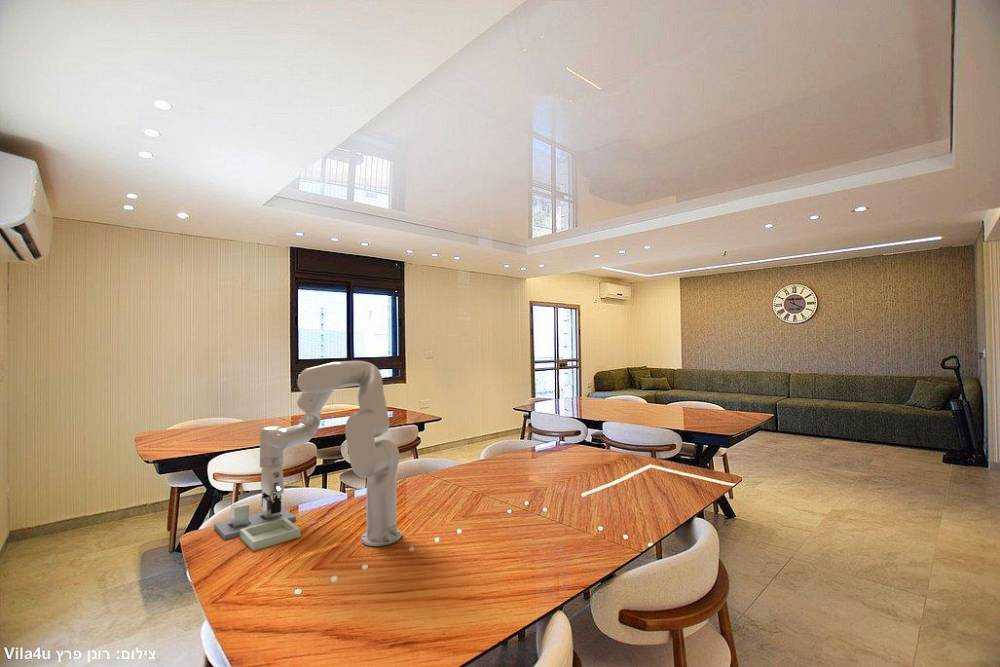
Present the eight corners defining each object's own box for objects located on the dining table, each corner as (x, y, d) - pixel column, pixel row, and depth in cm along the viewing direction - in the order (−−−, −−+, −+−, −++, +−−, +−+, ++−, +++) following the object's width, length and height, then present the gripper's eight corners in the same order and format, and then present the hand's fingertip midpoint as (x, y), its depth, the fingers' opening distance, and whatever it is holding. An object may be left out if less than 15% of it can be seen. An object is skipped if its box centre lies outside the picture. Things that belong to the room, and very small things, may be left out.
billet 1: (248, 531, 149) (249, 504, 150) (234, 535, 146) (234, 508, 147) (244, 527, 152) (245, 501, 153) (230, 531, 149) (230, 505, 150)
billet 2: (279, 523, 156) (280, 497, 157) (266, 526, 153) (266, 500, 154) (275, 519, 159) (275, 494, 160) (262, 523, 156) (262, 497, 157)
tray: (300, 539, 142) (300, 528, 142) (252, 554, 132) (253, 542, 132) (285, 527, 152) (285, 517, 152) (239, 540, 142) (239, 529, 142)
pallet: (295, 523, 156) (295, 516, 156) (224, 543, 140) (224, 535, 140) (281, 513, 166) (281, 506, 166) (213, 530, 150) (214, 523, 150)
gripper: (291, 463, 154) (291, 512, 153) (274, 455, 166) (274, 501, 165) (268, 467, 148) (267, 518, 148) (252, 459, 161) (252, 506, 160)
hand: (271, 509), depth 157 cm, fingers open, 9 cm apart
